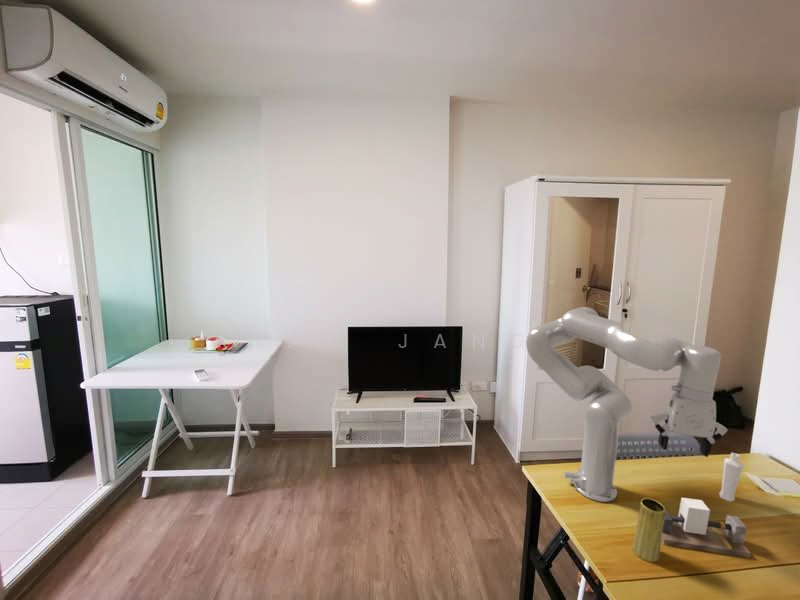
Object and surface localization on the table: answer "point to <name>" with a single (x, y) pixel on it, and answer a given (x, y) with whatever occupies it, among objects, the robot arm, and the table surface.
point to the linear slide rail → (707, 536)
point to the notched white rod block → (694, 515)
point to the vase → (649, 530)
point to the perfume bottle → (730, 477)
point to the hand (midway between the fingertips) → (682, 450)
